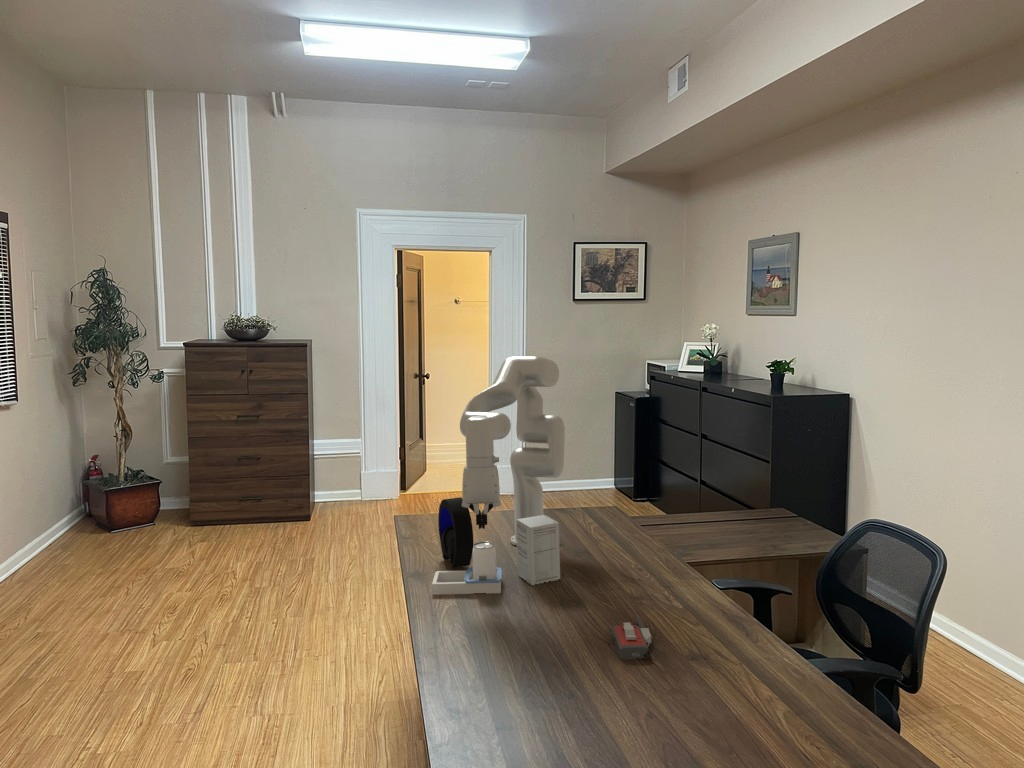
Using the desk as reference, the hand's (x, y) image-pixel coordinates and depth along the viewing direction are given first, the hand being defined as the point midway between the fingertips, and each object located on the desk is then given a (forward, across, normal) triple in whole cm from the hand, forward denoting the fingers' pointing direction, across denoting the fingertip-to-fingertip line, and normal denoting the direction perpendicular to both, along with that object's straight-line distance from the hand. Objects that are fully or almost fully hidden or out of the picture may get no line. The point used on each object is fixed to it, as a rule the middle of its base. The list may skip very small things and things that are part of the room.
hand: (481, 527), depth 197 cm
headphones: (+17, +9, -19) cm, 27 cm away
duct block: (+17, +4, 0) cm, 18 cm away
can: (+17, 0, 0) cm, 17 cm away
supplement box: (+17, -16, -6) cm, 24 cm away
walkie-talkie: (+18, -36, +34) cm, 52 cm away
